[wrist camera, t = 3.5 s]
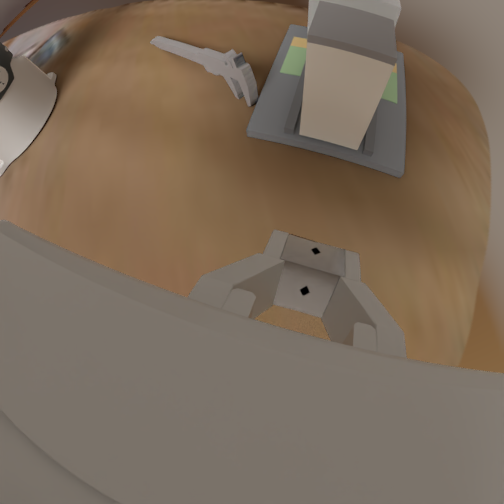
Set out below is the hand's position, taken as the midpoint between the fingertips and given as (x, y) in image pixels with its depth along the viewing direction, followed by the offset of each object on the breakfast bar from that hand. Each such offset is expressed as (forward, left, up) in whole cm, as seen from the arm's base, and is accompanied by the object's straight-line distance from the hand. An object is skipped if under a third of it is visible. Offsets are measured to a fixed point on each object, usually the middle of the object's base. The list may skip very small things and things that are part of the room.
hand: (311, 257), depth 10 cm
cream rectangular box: (0, +14, -10) cm, 18 cm away
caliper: (-16, +20, -12) cm, 29 cm away
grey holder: (0, +20, -12) cm, 23 cm away
